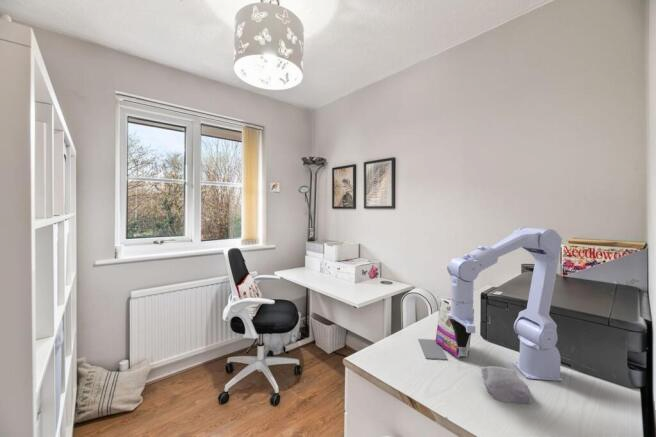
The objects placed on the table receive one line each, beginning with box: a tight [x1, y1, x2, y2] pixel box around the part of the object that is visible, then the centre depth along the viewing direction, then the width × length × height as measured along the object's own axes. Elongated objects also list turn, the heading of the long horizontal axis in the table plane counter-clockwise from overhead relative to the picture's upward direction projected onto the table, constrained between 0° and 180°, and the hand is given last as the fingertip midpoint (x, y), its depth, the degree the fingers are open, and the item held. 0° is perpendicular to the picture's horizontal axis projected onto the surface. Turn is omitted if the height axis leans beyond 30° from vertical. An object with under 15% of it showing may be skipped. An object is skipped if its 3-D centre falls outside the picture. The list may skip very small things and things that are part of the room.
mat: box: [417, 338, 449, 361], centre depth 98 cm, size 7×13×1 cm, turn 172°
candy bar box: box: [435, 298, 475, 359], centre depth 97 cm, size 11×5×16 cm, turn 17°
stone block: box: [480, 365, 532, 405], centre depth 77 cm, size 12×5×10 cm
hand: (461, 346), depth 80 cm, fingers closed
